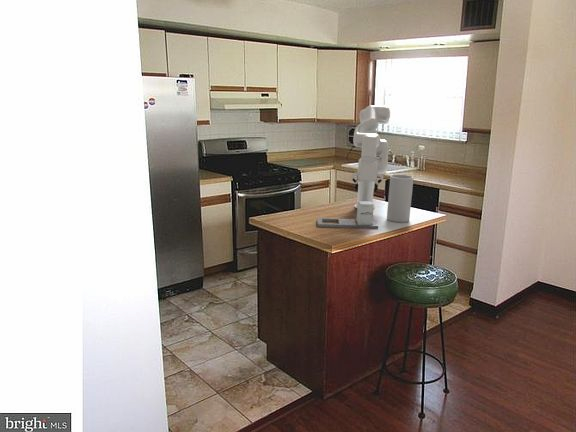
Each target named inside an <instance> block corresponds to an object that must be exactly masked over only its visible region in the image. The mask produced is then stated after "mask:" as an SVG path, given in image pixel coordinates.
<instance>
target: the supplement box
mask: <svg viewBox="0 0 576 432" xmlns="http://www.w3.org/2000/svg"><path fill="white" fill-rule="evenodd" d="M374 206H375V204H374V203H372V202H371V201H358V206H357V208H356V209H357V210H356V219H357V220H356V223H357V225H372V221H373V220H374V209H375V208H374Z"/></svg>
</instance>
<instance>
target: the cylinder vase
mask: <svg viewBox="0 0 576 432" xmlns="http://www.w3.org/2000/svg"><path fill="white" fill-rule="evenodd" d="M389 176H390V177H389V188H388V189H389V190H388V197H387V198H388V200H387V201H388V202H387V211H386V219H387V220H388V221H390V222H392V223H407V222H409V221H410V218H411V217H410V215H411V206H412V196H413V187H414V186H413V185H414V176H412V175H408V174H391V175H389Z"/></svg>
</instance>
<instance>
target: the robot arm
mask: <svg viewBox="0 0 576 432" xmlns="http://www.w3.org/2000/svg"><path fill="white" fill-rule="evenodd" d="M390 118H391V110H390V108H389V106H387V105H372V104H371V105H368V106H366V107H365V108H364V109H361V110H360V111H359V122H360V123H359V124H358V125H356V127H355V128H354V132H353V139H352V140H353V141H352V142H353V145H354V146H355V147H357V148H361V155H360V156H361V158H359V160H358V162H357V164H358V165H357V166H358V167H357V171H356V172H354V173H353V174H350V178H351V180H352V181H353V183H354V190H355V191H356V192H357V200H356V202H357V203H355V204H354V206H353V207H354V208H355V209H357V206H358V201H371V202H372V203H373V201H374V193H377V191H378V189H379V184H380V183H381V182H382V181H383V179H384V177H385V176H384V175H382V174H385V173H387V170H388V162H389V147H390V146H389V142H388V141H387V140H386V139H381V135H380V134H378V130H377V129H378V128H379V125H387V124H388V123H389V121H390ZM378 156H379V157H378ZM355 177H356V179H355ZM378 177H379V179H378ZM377 179H378V180H377ZM373 204H374V203H373ZM375 208H376V206H375V205H374V209H375Z"/></svg>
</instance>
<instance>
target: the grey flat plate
mask: <svg viewBox="0 0 576 432" xmlns="http://www.w3.org/2000/svg"><path fill="white" fill-rule="evenodd" d="M316 219H317V220H316V222H317V223H316V224H317V227H318V228H337V229H338V228H340V229H346V228H347V229H364V228H365V229H367V230H369V229H370V230H378V229H379V224H378V222H377V220H376V219H373V221H372V225H357V223H356V220H357V218H356V219H354V218H332V217H330V218H328V217H317V218H316ZM325 222H327V223H325Z"/></svg>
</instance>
